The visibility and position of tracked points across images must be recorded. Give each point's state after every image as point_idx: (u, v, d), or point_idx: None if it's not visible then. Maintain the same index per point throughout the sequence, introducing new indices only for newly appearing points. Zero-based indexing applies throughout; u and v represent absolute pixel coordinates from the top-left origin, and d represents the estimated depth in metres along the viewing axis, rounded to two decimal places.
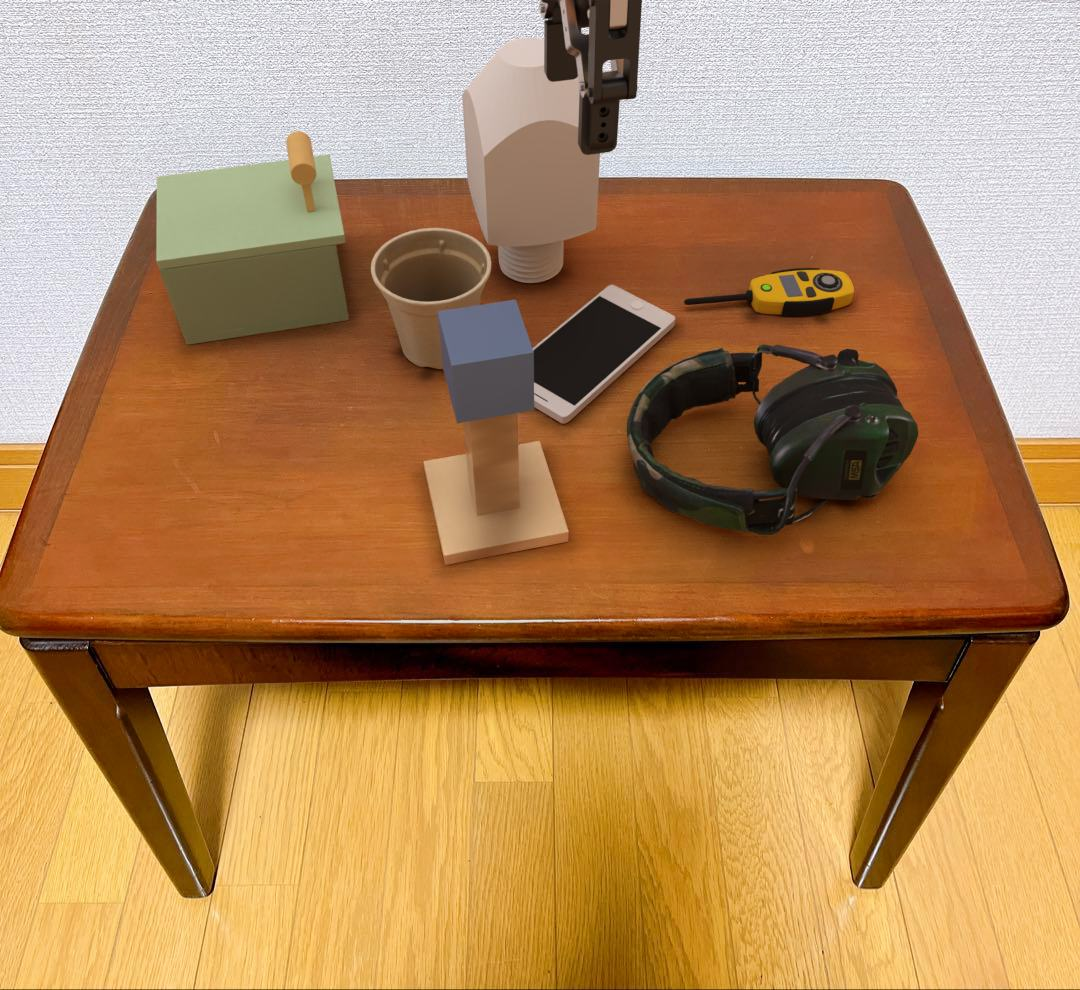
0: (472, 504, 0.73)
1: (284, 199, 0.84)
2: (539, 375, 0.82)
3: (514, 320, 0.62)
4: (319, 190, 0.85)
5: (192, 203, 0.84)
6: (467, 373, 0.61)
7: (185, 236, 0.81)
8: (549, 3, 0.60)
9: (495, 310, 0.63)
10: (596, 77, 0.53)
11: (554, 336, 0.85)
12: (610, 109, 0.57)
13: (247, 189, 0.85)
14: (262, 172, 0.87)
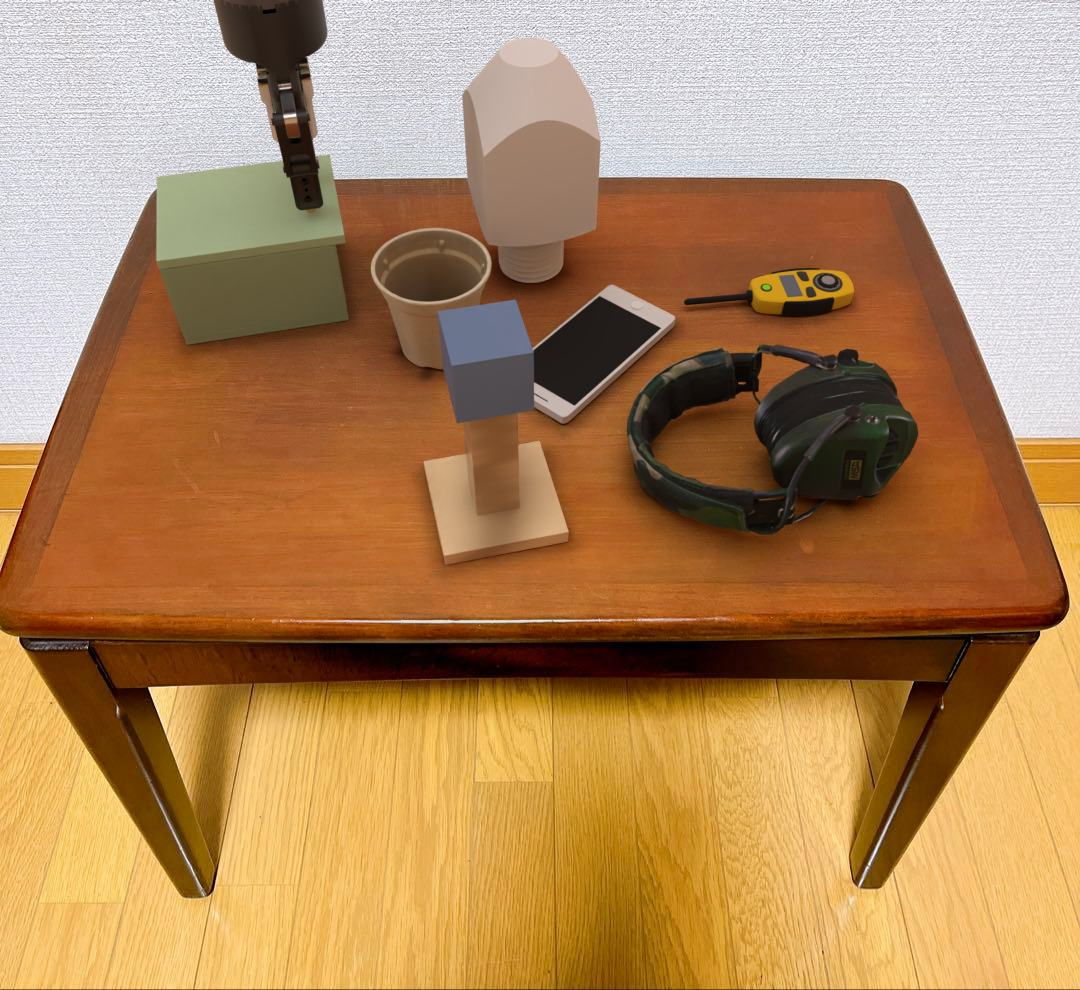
0: (472, 504, 0.73)
1: (284, 199, 0.84)
2: (539, 375, 0.82)
3: (514, 320, 0.62)
4: None
5: (192, 204, 0.84)
6: (467, 373, 0.61)
7: (185, 236, 0.81)
8: None
9: (495, 310, 0.63)
10: (285, 164, 0.76)
11: (554, 336, 0.85)
12: (309, 179, 0.79)
13: (247, 190, 0.85)
14: (262, 172, 0.87)
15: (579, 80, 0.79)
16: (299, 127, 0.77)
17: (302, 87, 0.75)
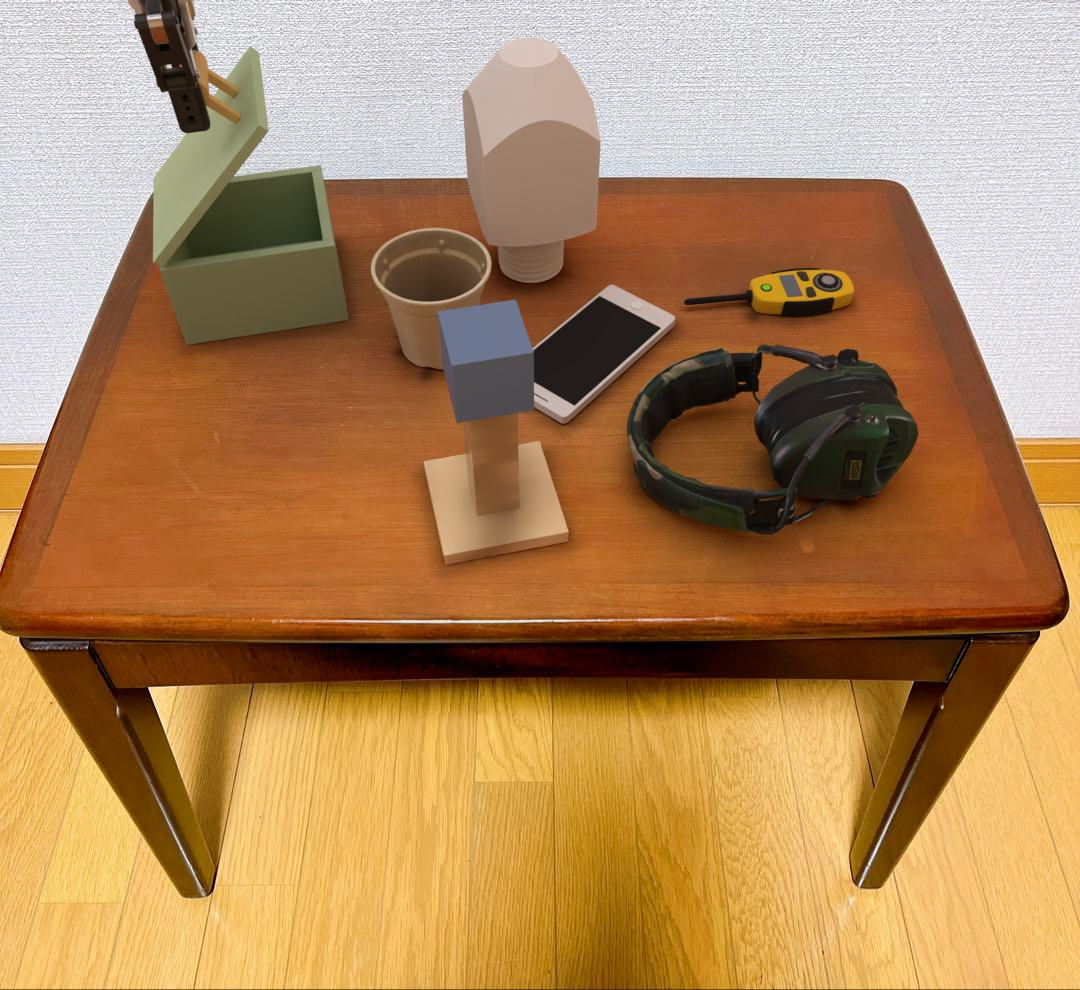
0: (472, 504, 0.73)
1: (222, 125, 0.78)
2: (539, 375, 0.82)
3: (514, 320, 0.62)
4: (243, 92, 0.77)
5: (171, 185, 0.82)
6: (467, 373, 0.61)
7: (168, 222, 0.80)
8: None
9: (495, 310, 0.63)
10: (157, 76, 0.68)
11: (554, 336, 0.85)
12: (189, 96, 0.72)
13: (201, 138, 0.81)
14: (210, 110, 0.82)
15: (579, 80, 0.79)
16: None
17: None
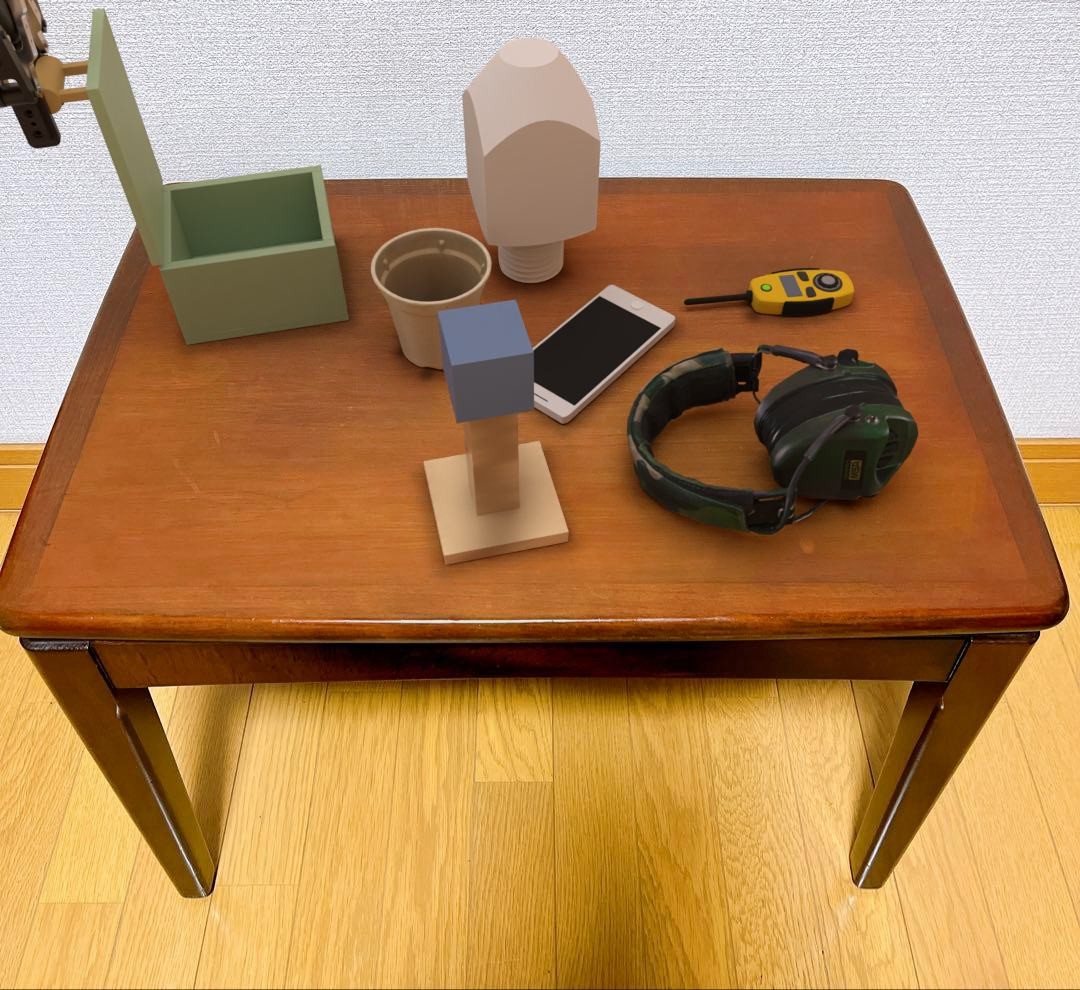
0: (472, 504, 0.73)
1: None
2: (539, 375, 0.82)
3: (514, 320, 0.62)
4: None
5: None
6: (467, 373, 0.61)
7: None
8: None
9: (495, 310, 0.63)
10: None
11: (554, 336, 0.85)
12: (33, 111, 0.70)
13: None
14: None
15: (579, 80, 0.79)
16: None
17: (8, 3, 0.66)
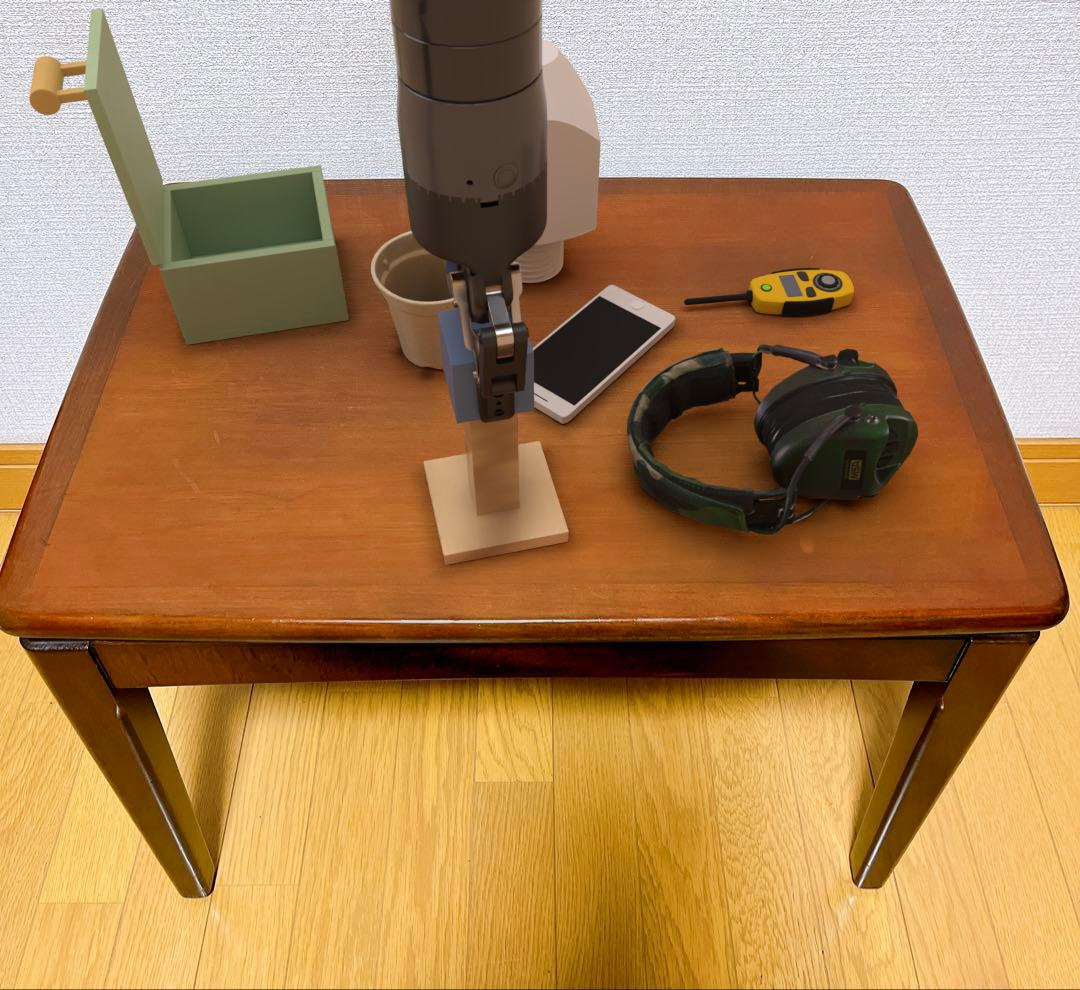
0: (472, 504, 0.73)
1: None
2: (539, 375, 0.82)
3: None
4: None
5: None
6: (467, 373, 0.61)
7: None
8: None
9: None
10: (485, 385, 0.57)
11: (554, 336, 0.85)
12: None
13: None
14: None
15: (579, 80, 0.79)
16: None
17: None
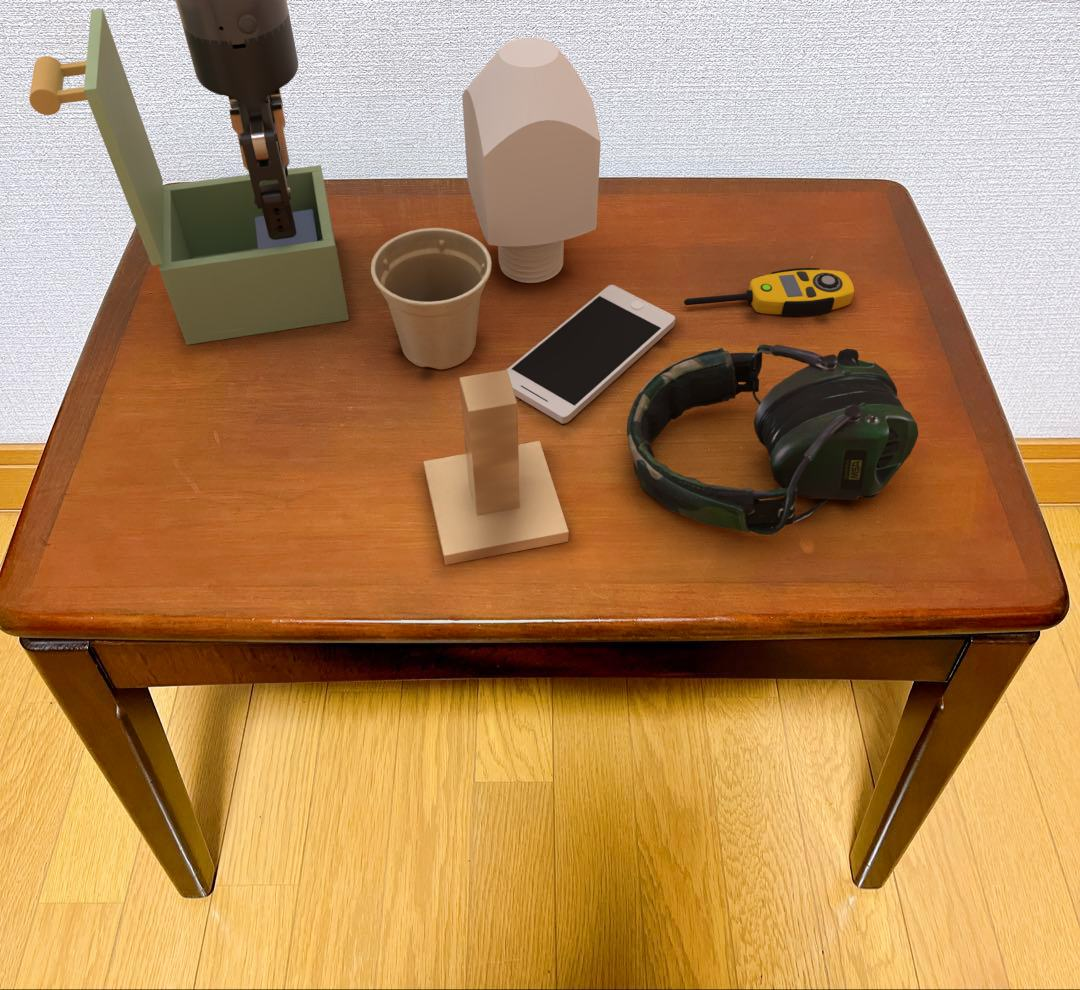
0: (472, 504, 0.73)
1: None
2: (539, 375, 0.82)
3: (308, 222, 0.87)
4: None
5: None
6: None
7: None
8: None
9: (296, 216, 0.88)
10: (255, 191, 0.75)
11: (554, 336, 0.85)
12: (281, 210, 0.79)
13: None
14: None
15: (579, 80, 0.79)
16: None
17: (273, 115, 0.76)
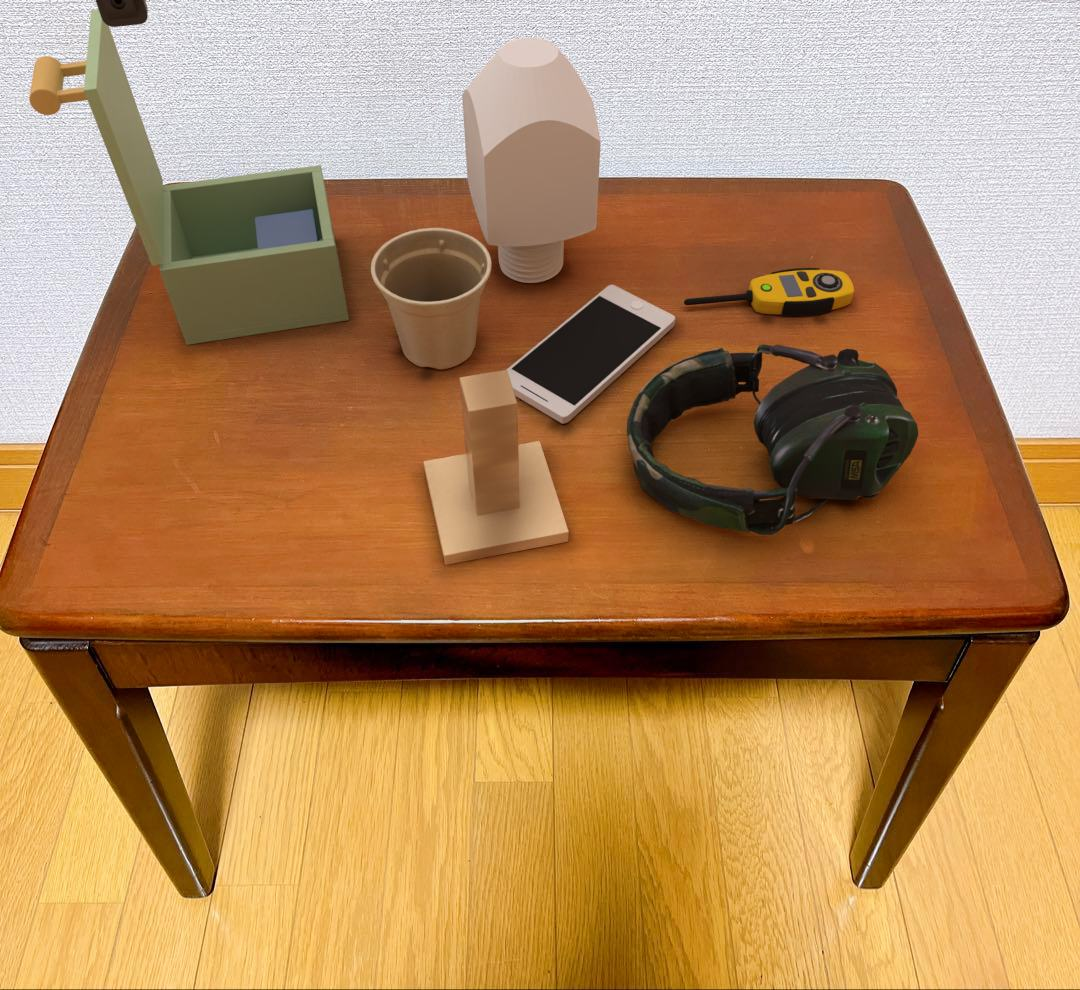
0: (472, 504, 0.73)
1: None
2: (539, 375, 0.82)
3: (308, 222, 0.87)
4: None
5: None
6: None
7: None
8: None
9: (296, 216, 0.88)
10: None
11: (554, 336, 0.85)
12: None
13: None
14: None
15: (579, 80, 0.79)
16: None
17: None
